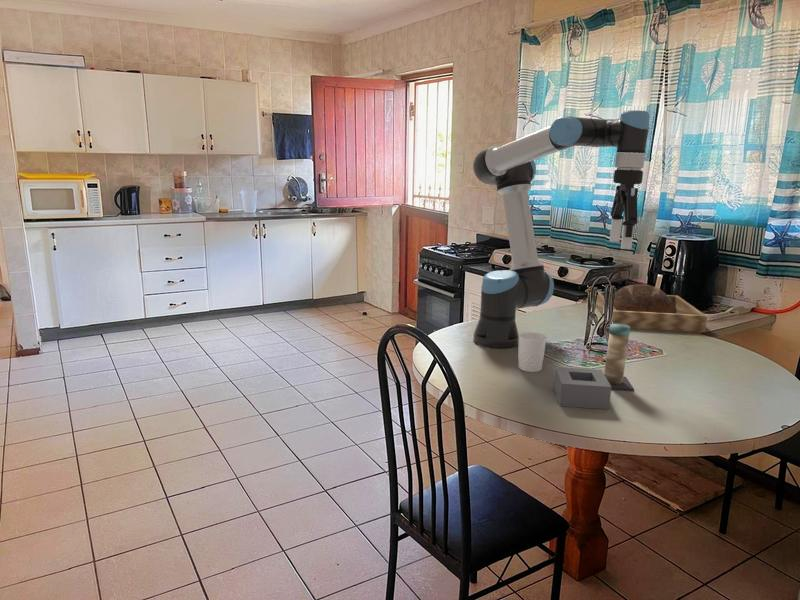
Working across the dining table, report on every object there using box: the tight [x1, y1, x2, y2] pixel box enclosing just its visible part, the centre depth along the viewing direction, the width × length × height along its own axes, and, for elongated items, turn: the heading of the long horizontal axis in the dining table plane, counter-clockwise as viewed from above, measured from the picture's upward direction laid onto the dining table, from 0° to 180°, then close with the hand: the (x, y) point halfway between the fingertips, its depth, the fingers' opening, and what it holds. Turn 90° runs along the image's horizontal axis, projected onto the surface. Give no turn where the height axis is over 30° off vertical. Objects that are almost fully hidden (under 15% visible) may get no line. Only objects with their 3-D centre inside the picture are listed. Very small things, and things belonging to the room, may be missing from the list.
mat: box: [610, 376, 635, 392], centre depth 164 cm, size 9×9×1 cm
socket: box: [553, 366, 612, 410], centre depth 153 cm, size 12×12×6 cm
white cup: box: [517, 331, 547, 373], centre depth 173 cm, size 8×8×10 cm
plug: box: [603, 324, 631, 385], centre depth 162 cm, size 5×5×16 cm
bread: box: [614, 283, 677, 314], centre depth 232 cm, size 26×27×13 cm
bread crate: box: [595, 291, 708, 333], centre depth 231 cm, size 33×32×6 cm
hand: (619, 245), depth 168 cm, fingers open, 13 cm apart
